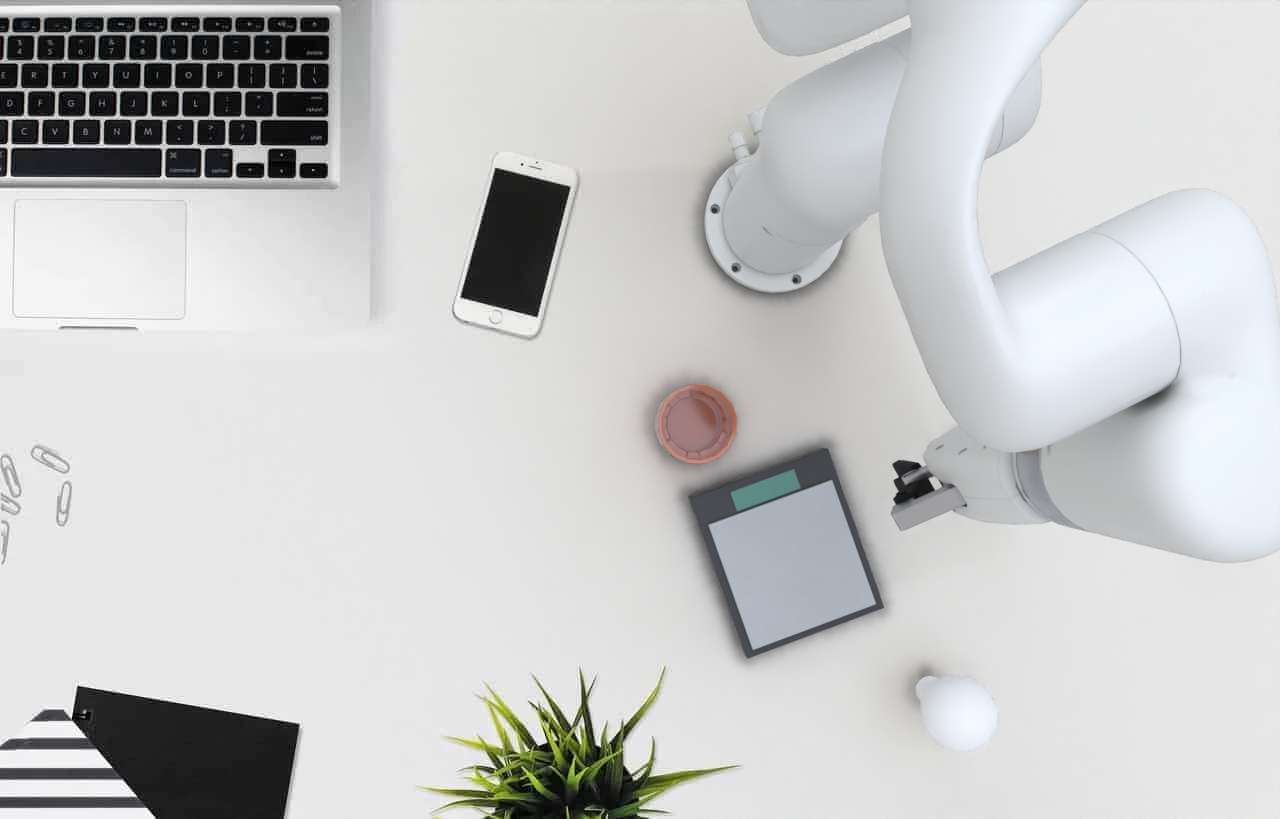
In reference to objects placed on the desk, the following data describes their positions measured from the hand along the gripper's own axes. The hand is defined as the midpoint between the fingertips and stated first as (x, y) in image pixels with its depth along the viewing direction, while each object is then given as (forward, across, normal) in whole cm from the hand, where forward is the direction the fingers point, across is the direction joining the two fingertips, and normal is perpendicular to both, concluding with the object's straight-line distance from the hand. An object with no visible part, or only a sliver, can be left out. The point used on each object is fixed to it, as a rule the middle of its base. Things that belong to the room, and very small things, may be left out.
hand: (965, 445), depth 69 cm
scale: (+21, +12, +5) cm, 25 cm away
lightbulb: (+21, +7, +22) cm, 31 cm away
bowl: (+22, +14, -9) cm, 27 cm away
